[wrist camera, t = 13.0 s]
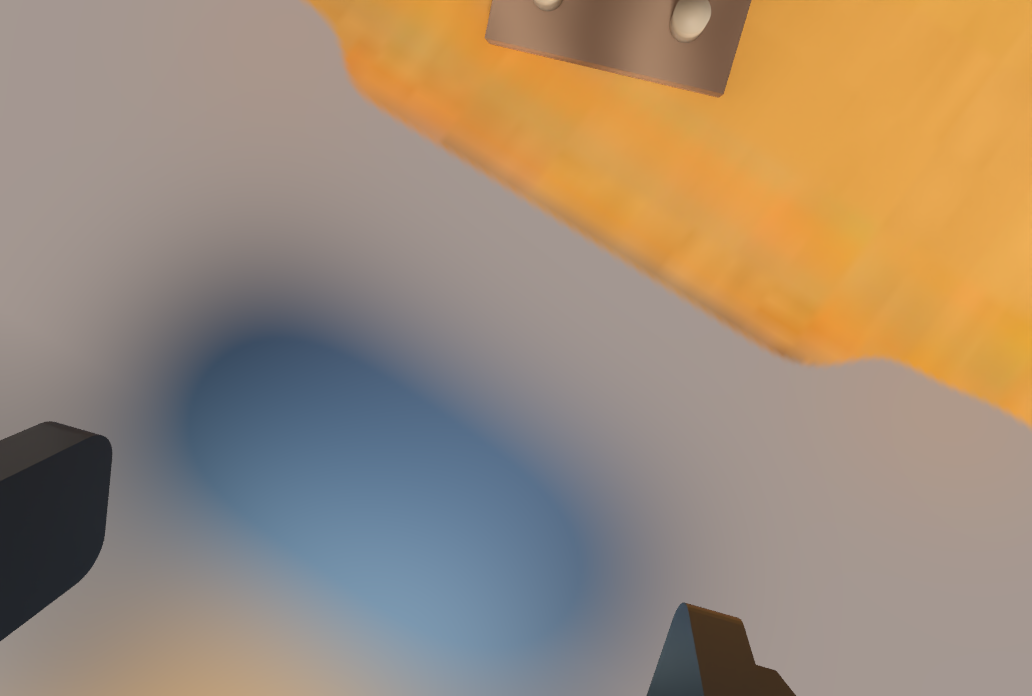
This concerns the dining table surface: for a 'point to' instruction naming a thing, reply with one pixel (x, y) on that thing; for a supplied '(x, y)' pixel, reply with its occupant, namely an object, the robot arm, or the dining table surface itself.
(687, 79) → the peg trivet
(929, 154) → the dining table surface
